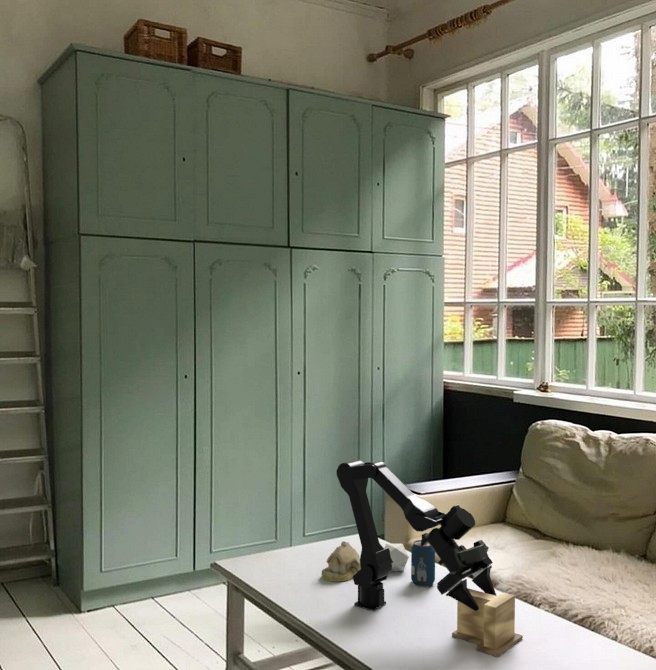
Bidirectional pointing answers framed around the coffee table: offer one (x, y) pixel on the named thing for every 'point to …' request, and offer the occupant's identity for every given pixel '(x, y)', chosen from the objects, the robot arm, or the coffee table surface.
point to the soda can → (422, 564)
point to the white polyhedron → (397, 556)
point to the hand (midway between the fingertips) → (486, 604)
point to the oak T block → (488, 618)
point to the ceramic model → (342, 563)
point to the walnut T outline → (487, 650)
